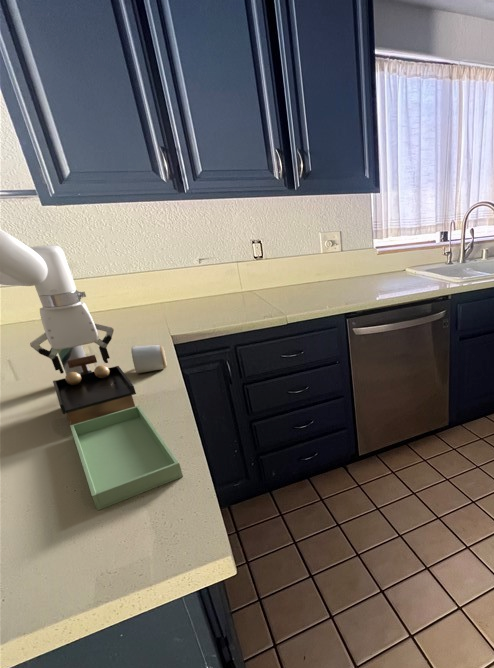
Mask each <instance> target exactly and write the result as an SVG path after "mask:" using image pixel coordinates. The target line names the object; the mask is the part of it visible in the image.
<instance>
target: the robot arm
mask: <svg viewBox="0 0 494 668" xmlns="http://www.w3.org/2000/svg"><path fill="white" fill-rule="evenodd" d="M0 285H1V286H2V285H3V286H18V287H19V286H20V287H34V288H35V291H36V293H37V295H38V299H39V301H40V304H41V306H42V307H39V316H40V320H41V324H42V327H43V330H44V333H42V334H41V335H39V336H38V337H36V338H35V339H33V340H32V341H30V343H29V346H30V347H31V348H32V349H33V350H35V352H37V353H38V354H40V356H41V355H42V356H44V357H46V358H48V359H50V360H51V362H52V365H53V368H54V370H55V371H59V373H60V374H64V372H65V370H64V368H63V365H62V363H61V360H60V357H59V355H58V351H59V350H60V349H66V348H71V347H76V346H81V345H82V346H85V345H90V344H96V345H98V349H99V353H100V356H101V358H102V361H103V363H104V364H109V360H108V359H111V357H110V354H109V351H108V348H107V347H108V345H109V344H110V342H111V341H112V339H113V338H112V337H113V335H114V328H113V327H112V326H108V325H104V324H99V323H95V322H94V319H93V317H92V314H91V312H90V310H89V308H88V306H87V304H86V303H85V301H82V299H83V298H87V294H86V292H85V291H79V290H77V287H76V283H75V280H74V278H73V274H72V272H71V269H70V266H69V264H68V261H67V257H66V255H65V252H64V250H63V249H62V247H61V246H59V245H56V244H55V245H54V244H44V245H34V246H28V245H26V244H25V243H24V242H22V241H20V240H19V239H18V238H16V237H15V236H13V235H11V234H10V233H8V232H7V231H4V230H3V229H2V228H0ZM98 331H101V332H105V333H106V334H105V336H104V337H103V338H102V339H101V338H100V335H99V332H98ZM45 341H48V344H49V345H50V349H49V350H48V349H46V348H43V347H42V346H41V344H42V343H44V342H45Z"/></svg>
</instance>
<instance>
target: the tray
mask: <svg viewBox="0 0 494 668" xmlns="http://www.w3.org/2000/svg"><path fill="white" fill-rule="evenodd" d="M69 427H70V430H71V433H72V438H73V440H74V443H75V447H76V449H77V453H78V456H79V460H80V463H81V467H82V469H83V472H84V476H85V479H86V482H87V485H88V488H89V491H90V495H91V497H92V500H93V503H94V506H95V508H96V510H97V511H100V510H102V509H105V508H108V507H110V506H113V505H115V504H118V503H121V502H122V501H126V500H128V499H130V498H134V497H136V496H138V495H141V494H143V493H145V492H148V491H151V490H153V489H155V488H158V487H161V486H163V485H166V484H168V483H171V482H173V481H175V480H178V479H181V478H183V477H184V475H183V471H182V468H181V464H180V462H179V460H178V459H177V458H176V456H175V454H174V453H173V452H172V450H171V448H170V447H169V446H168V445H167V443H166V442H165V440H164V439H163V438H162V436H161V435H160V433H159V432H158V430H157V429H156V427H155V426H154V425H153V423H152V422H151V420H150V419H149V417H148V416H147V415H146V413H145V412H144V410H143V409H142V407H141V406H140V405H135V407H132V408H129V409H125V410H122V411H118V412H115V413H111V414H108V415H104V416H101V417H97V418H94V419H91V420H87V421H84V422H80V423H77V424H73V425H71V424H70V425H69Z"/></svg>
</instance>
